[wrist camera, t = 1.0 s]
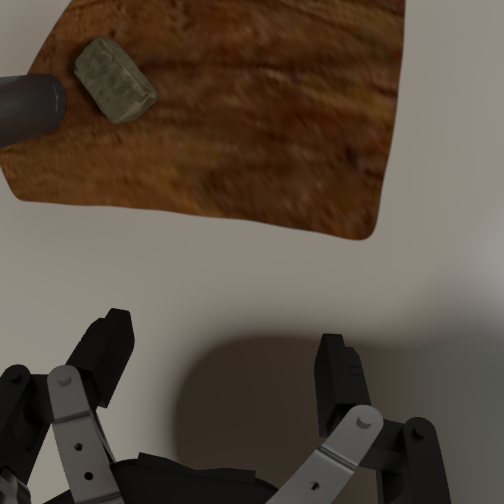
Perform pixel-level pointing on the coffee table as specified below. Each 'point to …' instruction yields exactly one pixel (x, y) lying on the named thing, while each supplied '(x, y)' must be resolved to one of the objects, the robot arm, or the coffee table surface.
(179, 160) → the coffee table surface
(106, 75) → the stone block
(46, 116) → the robot arm
